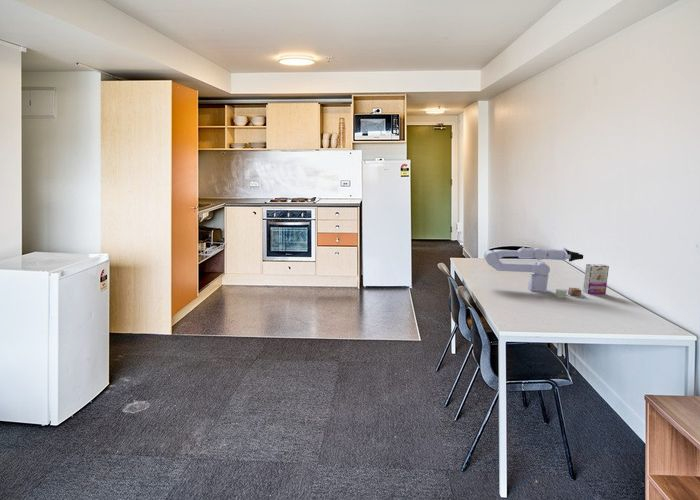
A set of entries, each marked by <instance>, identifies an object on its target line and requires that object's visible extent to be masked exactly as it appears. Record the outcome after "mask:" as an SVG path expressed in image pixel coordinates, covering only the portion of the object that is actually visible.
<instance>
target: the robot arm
mask: <svg viewBox="0 0 700 500" xmlns="http://www.w3.org/2000/svg"><path fill="white" fill-rule="evenodd" d="M504 257H518V258H519V259H520V260H521V259H531V260H532V259H536V260H538V262H531V263H525V262H504V261H501V259H502V258H504ZM483 258H484V260H485V261H486V263H487V264H488V265H489V266H491V268H493V269H494V270H496V271H497V272H513V273H514V272H515V273H517V272H519V273H531V274H530V275H529V276H528V277H529V279H528V285H527V286H528V287H527V289H529V290H530V292H543V293H544V292H545V293H549V292H550V291H549V290H548V289H547V288H548V281H549V273H550V272H551V269H550V266H549V265H548V264H547V263H546V262H544V261H542V260H543V259H544V260H551V261H552V260H554V261H566V260H567V259H568V262H570V263H571V262H573V261H577V260H583V259H584V254H581V253H580V252H577V251H572V250H569V249H568V248H566V247H563V249H558V248H556V249H553V248H540V247H531V248H529V247H526V248H525V246H524V247H523V246H522V247H520V248H519V249H517V250H514V249H513V250H512V249H511V250H510V249H493V250H492V249H488V250H486V251H485V252H484V255H483ZM540 260H541V261H540Z"/></svg>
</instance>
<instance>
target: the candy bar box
mask: <svg viewBox="0 0 700 500" xmlns="http://www.w3.org/2000/svg"><path fill="white" fill-rule="evenodd" d="M609 268H610V266H609V265H607V264H603V263H601V264H599V263H598V264H595V263H593V264H591V263H589V264H588V263H587V264H585V272H584V279H583V280H584V282H583V288H582V293H584V294H587V295H606V292H607V285H608V277H609V271H610V270H609Z"/></svg>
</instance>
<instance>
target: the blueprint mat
mask: <svg viewBox="0 0 700 500" xmlns="http://www.w3.org/2000/svg"><path fill="white" fill-rule="evenodd" d="M560 290H562V288H561V289H560ZM564 290H565V291H566V297H568V298H569V297H571V298H578V297H577V296H570V295H569V294H568V291H569V289H564ZM581 298H583V299H584V298H585V299H588V297H587V296H585V294H583V293H581V297H580V299H581Z"/></svg>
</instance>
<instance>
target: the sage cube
mask: <svg viewBox="0 0 700 500" xmlns="http://www.w3.org/2000/svg"><path fill="white" fill-rule="evenodd" d="M565 290H566V289H561V290H560V289H559V288H558V289H557V288H556V289H555V296H556V297H557V298H560V299H566V298H567V296H566V291H565Z"/></svg>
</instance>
